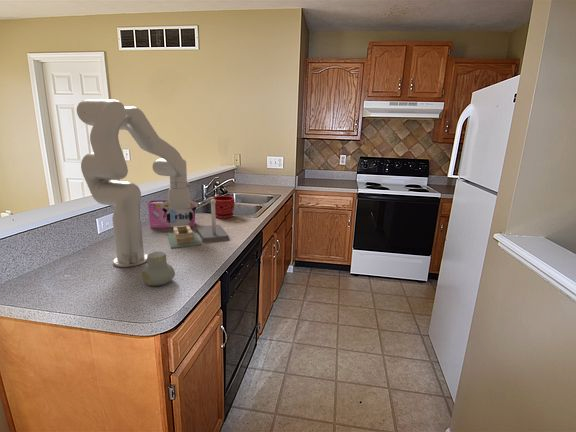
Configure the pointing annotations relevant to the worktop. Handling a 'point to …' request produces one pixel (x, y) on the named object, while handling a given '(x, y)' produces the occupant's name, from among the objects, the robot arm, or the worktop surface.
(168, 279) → the air freshener
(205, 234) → the post stand
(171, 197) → the robot arm
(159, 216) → the gum box
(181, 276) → the worktop surface
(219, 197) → the plant pot
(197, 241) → the rubber mat
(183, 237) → the beech link
